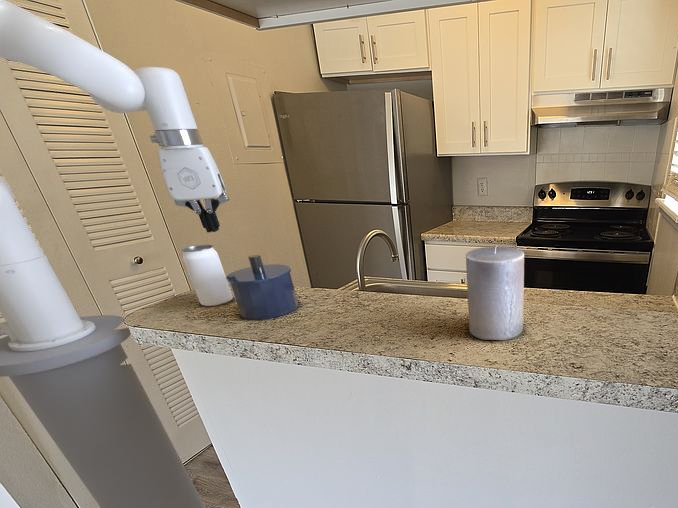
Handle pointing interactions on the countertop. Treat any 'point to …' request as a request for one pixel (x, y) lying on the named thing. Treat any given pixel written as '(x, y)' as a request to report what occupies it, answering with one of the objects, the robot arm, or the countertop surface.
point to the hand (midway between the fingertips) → (213, 230)
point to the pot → (265, 298)
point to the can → (207, 275)
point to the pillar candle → (495, 292)
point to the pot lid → (257, 272)
